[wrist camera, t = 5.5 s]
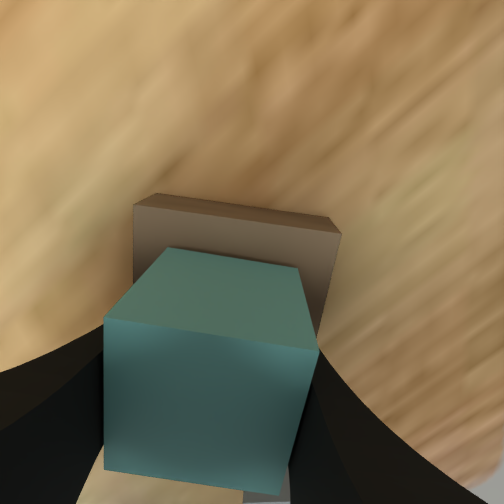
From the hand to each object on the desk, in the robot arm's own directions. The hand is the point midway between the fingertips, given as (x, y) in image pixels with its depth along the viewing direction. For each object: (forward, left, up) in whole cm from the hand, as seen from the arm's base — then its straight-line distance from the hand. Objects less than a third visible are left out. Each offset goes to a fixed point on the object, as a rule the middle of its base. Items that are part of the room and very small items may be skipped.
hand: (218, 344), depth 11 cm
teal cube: (0, 0, -2) cm, 2 cm away
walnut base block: (0, 0, -5) cm, 5 cm away
